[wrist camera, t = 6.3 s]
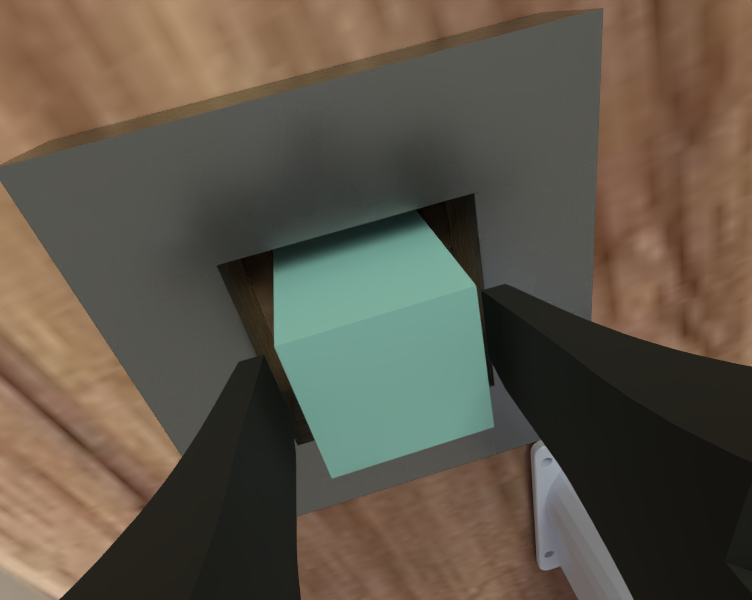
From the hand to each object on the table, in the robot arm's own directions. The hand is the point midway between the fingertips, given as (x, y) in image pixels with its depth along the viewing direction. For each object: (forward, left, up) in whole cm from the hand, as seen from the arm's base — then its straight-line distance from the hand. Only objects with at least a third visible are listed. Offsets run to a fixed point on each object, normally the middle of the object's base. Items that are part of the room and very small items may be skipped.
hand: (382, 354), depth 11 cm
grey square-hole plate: (0, 0, -3) cm, 3 cm away
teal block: (0, 0, -3) cm, 4 cm away
